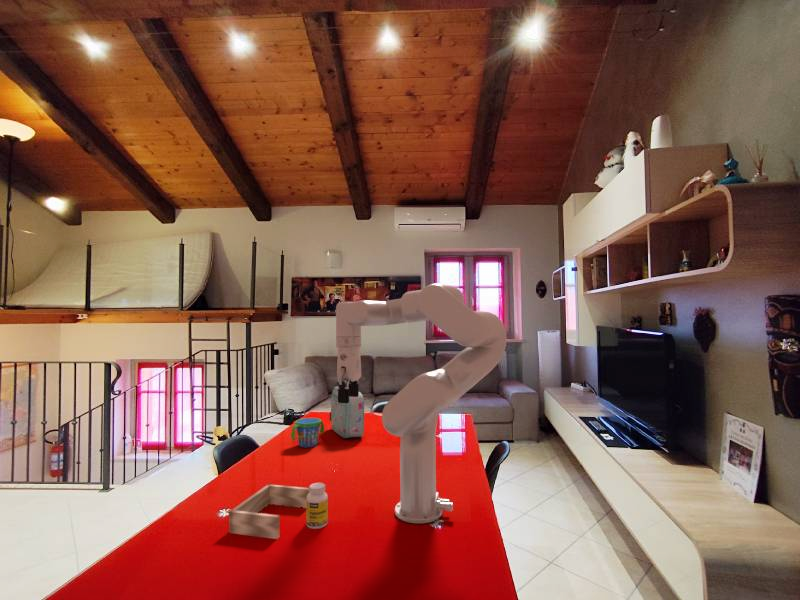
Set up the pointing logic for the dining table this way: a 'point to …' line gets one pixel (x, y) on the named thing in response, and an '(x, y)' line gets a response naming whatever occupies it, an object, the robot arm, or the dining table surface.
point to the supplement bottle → (317, 506)
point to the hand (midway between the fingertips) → (348, 399)
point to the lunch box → (347, 416)
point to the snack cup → (307, 431)
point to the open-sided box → (259, 524)
